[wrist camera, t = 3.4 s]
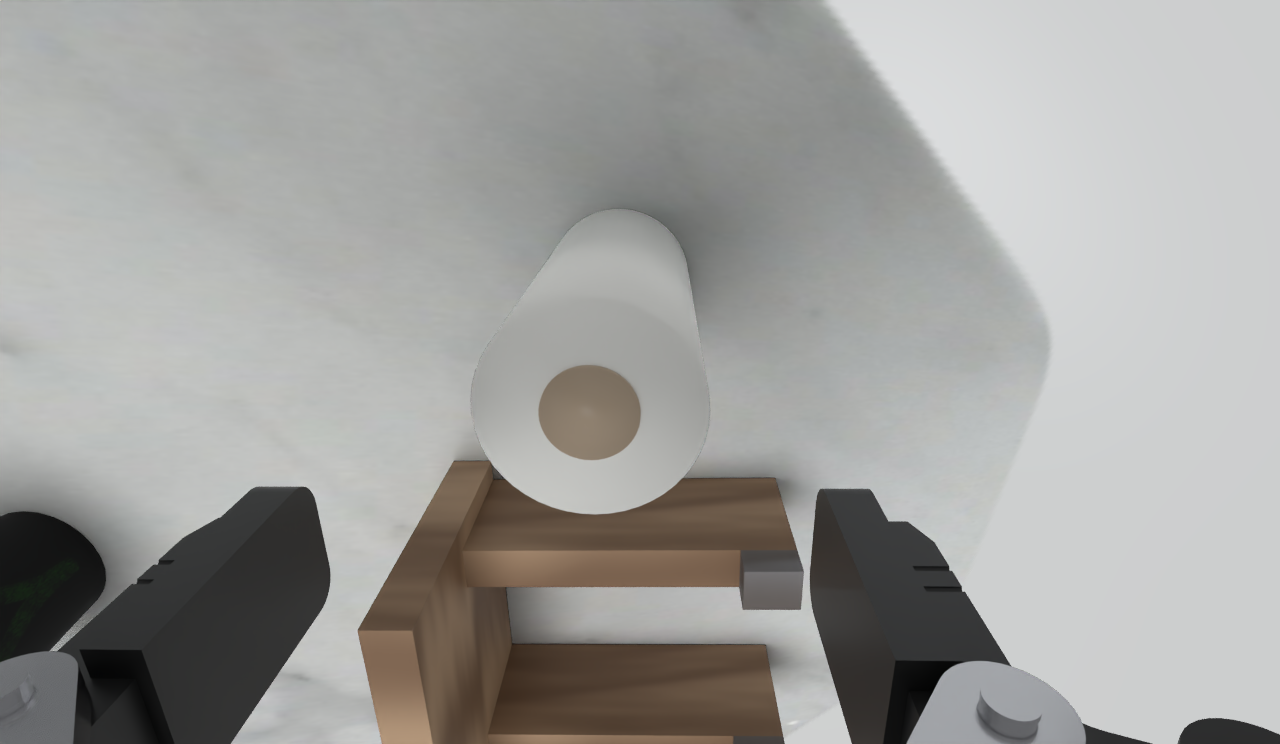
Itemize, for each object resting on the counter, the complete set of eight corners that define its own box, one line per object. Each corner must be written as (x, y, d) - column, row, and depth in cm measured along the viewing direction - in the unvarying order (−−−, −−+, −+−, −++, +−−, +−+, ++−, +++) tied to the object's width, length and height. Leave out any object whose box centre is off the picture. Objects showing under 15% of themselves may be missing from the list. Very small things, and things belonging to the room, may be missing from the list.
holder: (453, 461, 29) (357, 630, 20) (776, 459, 29) (832, 631, 19) (484, 684, 34) (417, 906, 24) (762, 685, 33) (803, 912, 24)
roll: (546, 209, 25) (455, 299, 14) (688, 207, 25) (712, 295, 14) (555, 343, 27) (482, 518, 16) (687, 342, 27) (708, 517, 16)
